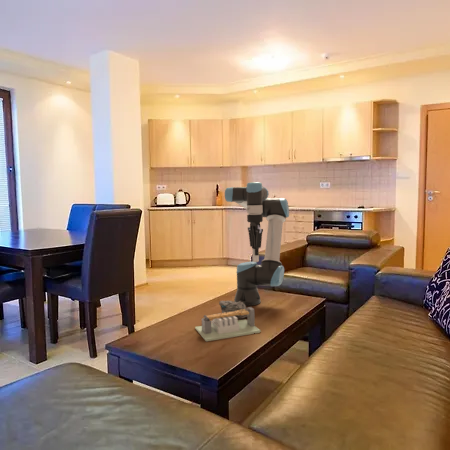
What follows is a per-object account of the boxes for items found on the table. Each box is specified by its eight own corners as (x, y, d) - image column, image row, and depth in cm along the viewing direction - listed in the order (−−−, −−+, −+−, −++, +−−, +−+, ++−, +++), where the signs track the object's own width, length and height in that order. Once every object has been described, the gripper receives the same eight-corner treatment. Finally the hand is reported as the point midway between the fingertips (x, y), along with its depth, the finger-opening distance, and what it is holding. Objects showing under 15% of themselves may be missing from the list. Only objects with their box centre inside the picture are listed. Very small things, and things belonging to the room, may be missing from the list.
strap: (206, 320, 173) (206, 318, 172) (203, 317, 177) (203, 315, 177) (249, 314, 180) (248, 311, 180) (244, 311, 184) (244, 308, 184)
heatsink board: (195, 328, 183) (194, 310, 182) (245, 321, 192) (245, 303, 191) (206, 341, 167) (205, 321, 166) (260, 332, 176) (260, 313, 175)
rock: (215, 316, 199) (217, 298, 197) (223, 311, 206) (225, 293, 204) (242, 326, 192) (244, 307, 190) (249, 320, 199) (252, 302, 197)
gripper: (242, 213, 194) (243, 260, 196) (253, 214, 182) (254, 264, 184) (256, 213, 197) (257, 258, 199) (267, 214, 184) (268, 263, 186)
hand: (255, 261), depth 191 cm, fingers closed
